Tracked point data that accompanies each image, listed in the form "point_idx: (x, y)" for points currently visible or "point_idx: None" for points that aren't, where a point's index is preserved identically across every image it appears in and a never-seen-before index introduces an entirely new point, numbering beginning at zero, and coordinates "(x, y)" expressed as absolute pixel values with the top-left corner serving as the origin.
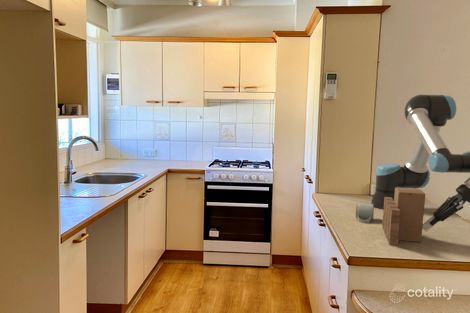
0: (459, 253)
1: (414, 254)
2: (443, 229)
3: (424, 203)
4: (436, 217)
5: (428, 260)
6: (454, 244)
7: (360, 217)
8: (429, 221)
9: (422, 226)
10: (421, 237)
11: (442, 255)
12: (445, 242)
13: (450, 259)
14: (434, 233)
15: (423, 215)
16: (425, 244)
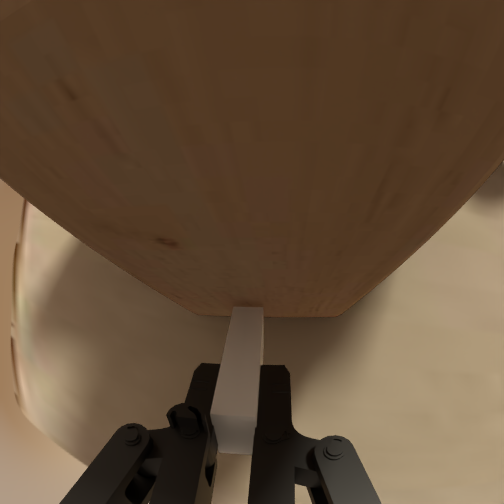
0: (86, 445)
1: (49, 244)
2: (479, 467)
3: (19, 193)
4: (178, 428)
5: (12, 280)
6: (215, 488)
7: None
8: (223, 367)
9: (162, 293)
10: (188, 309)
11: (48, 355)
12: (238, 456)
13: (23, 367)
14: (406, 428)
15: (117, 265)
16: (167, 330)
